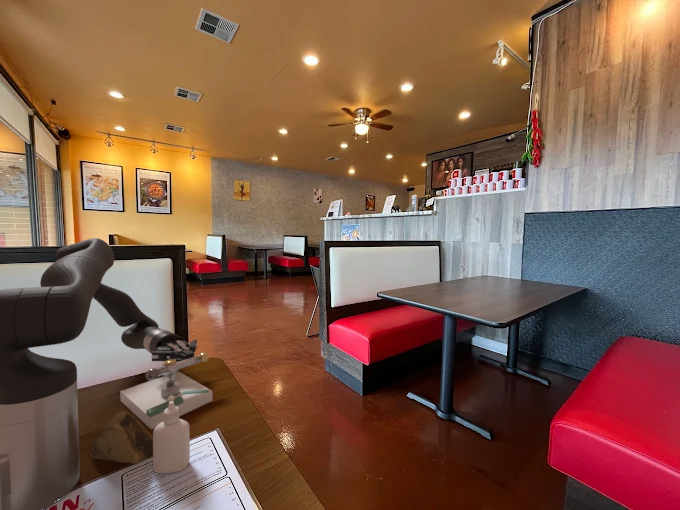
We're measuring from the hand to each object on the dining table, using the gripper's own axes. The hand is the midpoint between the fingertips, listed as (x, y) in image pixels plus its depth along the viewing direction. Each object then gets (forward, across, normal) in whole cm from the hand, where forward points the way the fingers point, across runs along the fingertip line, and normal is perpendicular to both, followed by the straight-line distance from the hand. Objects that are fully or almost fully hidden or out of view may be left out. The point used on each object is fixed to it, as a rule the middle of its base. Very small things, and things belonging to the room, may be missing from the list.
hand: (191, 357), depth 78 cm
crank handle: (+3, -4, +4) cm, 6 cm away
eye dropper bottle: (+23, -15, +9) cm, 30 cm away
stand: (0, -6, +9) cm, 11 cm away
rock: (+13, -19, +9) cm, 25 cm away
